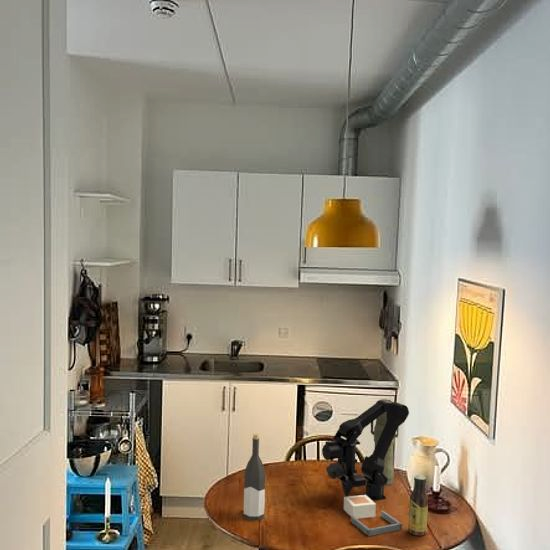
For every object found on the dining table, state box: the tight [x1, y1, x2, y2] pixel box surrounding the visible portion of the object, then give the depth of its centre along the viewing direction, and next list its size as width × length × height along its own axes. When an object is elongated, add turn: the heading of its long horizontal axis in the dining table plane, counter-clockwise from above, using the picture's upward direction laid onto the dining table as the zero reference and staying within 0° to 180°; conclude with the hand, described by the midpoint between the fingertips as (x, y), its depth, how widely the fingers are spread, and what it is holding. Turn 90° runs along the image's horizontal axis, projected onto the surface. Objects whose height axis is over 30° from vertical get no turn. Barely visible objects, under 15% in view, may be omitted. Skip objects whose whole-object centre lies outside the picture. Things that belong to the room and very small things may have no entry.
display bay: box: [350, 510, 403, 537], centre depth 206 cm, size 14×12×2 cm
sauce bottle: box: [408, 474, 429, 536], centre depth 202 cm, size 7×6×20 cm
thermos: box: [370, 399, 400, 487], centre depth 247 cm, size 9×12×35 cm
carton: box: [343, 494, 377, 520], centre depth 216 cm, size 9×8×5 cm
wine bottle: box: [243, 433, 266, 522], centre depth 211 cm, size 8×8×30 cm
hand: (346, 495), depth 225 cm, fingers closed
